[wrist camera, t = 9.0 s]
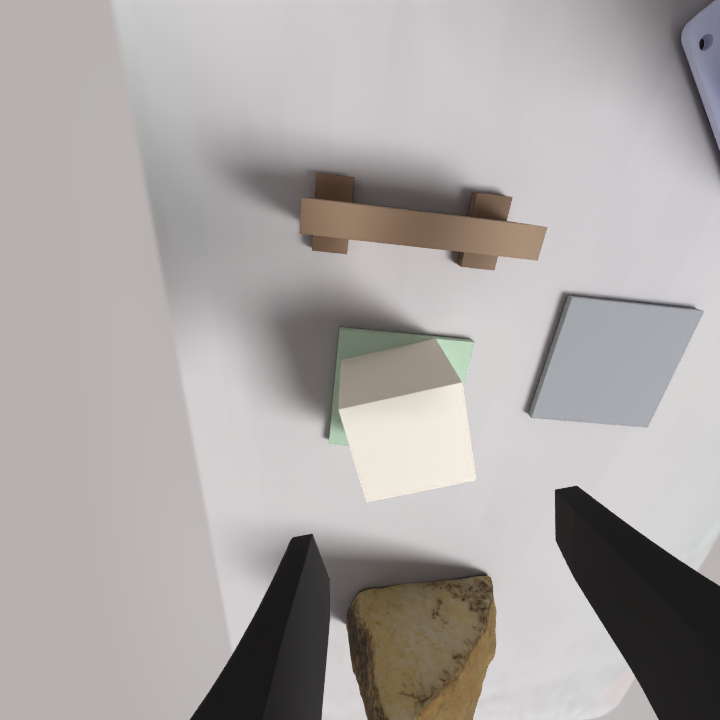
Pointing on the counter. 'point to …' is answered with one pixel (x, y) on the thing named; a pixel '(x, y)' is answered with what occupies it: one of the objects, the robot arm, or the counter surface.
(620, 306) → the grey mat
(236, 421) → the counter surface
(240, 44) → the counter surface
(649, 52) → the counter surface
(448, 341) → the green mat
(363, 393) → the lettered cube
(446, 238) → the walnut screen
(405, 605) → the rock
